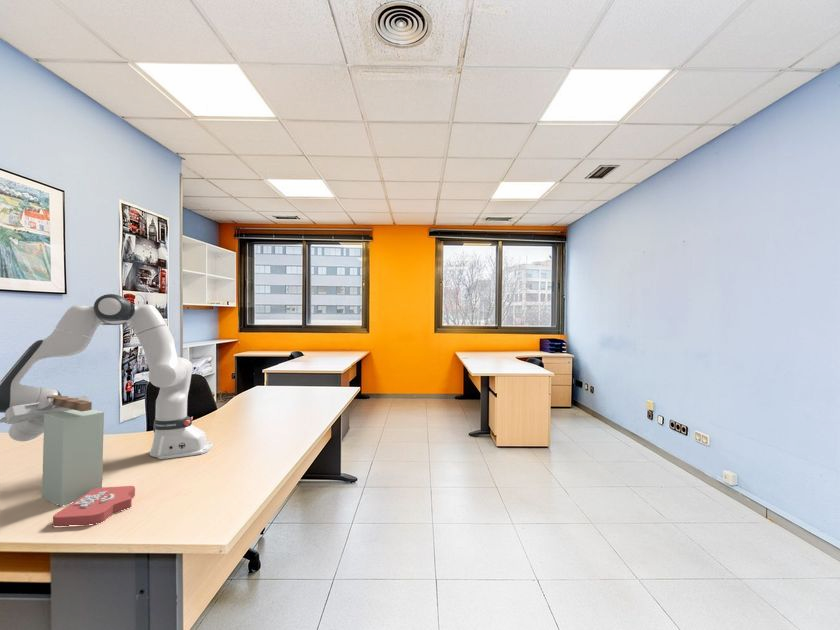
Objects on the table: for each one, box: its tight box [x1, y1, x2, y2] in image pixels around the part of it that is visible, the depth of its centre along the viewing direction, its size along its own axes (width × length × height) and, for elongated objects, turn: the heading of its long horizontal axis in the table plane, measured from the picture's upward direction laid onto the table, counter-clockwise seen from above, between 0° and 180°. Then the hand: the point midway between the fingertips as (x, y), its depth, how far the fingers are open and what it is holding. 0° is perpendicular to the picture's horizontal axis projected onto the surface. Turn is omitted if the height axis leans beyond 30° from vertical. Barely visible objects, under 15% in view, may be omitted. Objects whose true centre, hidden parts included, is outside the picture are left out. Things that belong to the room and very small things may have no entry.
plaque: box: [52, 485, 136, 526], centre depth 108 cm, size 18×4×15 cm
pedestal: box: [41, 409, 105, 507], centre depth 116 cm, size 12×10×26 cm
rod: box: [47, 395, 93, 412], centre depth 118 cm, size 22×2×2 cm, turn 66°
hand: (59, 399), depth 120 cm, fingers closed on rod, 2 cm apart
